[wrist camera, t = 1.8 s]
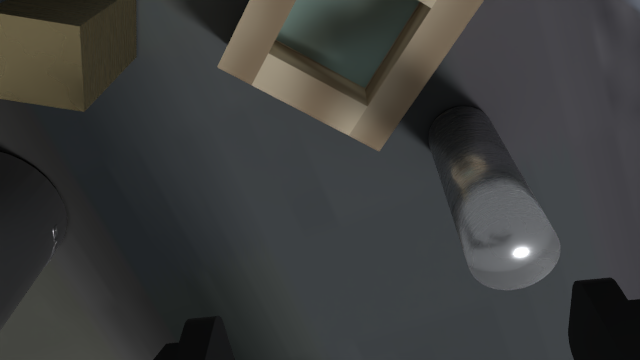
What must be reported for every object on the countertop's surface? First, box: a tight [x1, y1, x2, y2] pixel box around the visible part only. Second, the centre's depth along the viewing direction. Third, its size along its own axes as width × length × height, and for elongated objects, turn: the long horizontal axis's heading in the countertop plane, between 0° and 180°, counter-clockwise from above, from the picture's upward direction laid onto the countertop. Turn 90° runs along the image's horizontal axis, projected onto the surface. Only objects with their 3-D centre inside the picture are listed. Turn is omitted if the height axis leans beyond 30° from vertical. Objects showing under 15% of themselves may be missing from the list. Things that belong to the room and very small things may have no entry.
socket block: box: [218, 0, 484, 151], centre depth 30 cm, size 10×10×4 cm
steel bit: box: [428, 106, 560, 290], centre depth 30 cm, size 4×4×12 cm
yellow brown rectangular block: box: [0, 0, 136, 112], centre depth 29 cm, size 4×4×8 cm
